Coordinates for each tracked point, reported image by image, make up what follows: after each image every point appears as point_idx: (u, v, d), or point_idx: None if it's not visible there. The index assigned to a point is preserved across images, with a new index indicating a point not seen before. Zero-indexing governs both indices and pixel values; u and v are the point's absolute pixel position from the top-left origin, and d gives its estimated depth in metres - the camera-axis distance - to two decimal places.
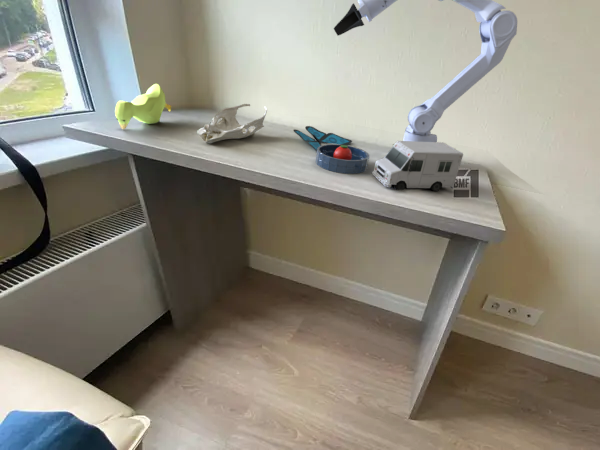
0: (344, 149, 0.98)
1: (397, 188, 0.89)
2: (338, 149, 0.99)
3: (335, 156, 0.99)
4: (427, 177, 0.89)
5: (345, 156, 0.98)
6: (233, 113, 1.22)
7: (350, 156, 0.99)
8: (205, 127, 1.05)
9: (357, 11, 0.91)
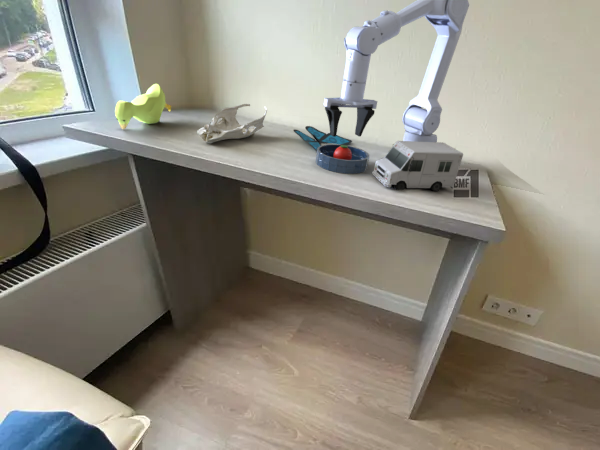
0: (344, 149, 0.98)
1: (397, 188, 0.89)
2: (338, 149, 0.99)
3: (335, 156, 0.99)
4: (427, 177, 0.89)
5: (345, 156, 0.98)
6: (233, 113, 1.22)
7: (350, 156, 0.99)
8: (205, 127, 1.05)
9: None
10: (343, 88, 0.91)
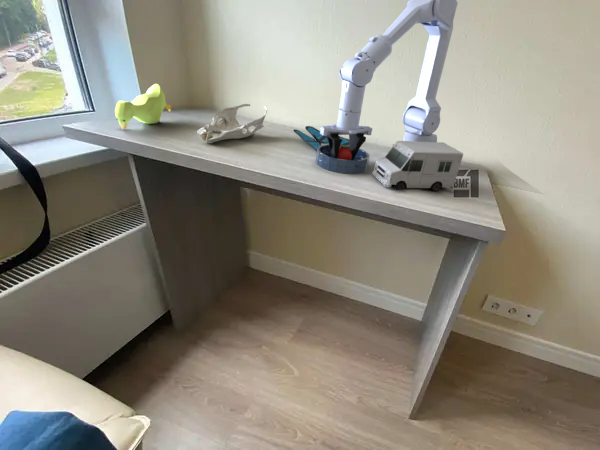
0: (344, 149, 0.98)
1: (397, 188, 0.89)
2: None
3: None
4: (427, 177, 0.89)
5: (345, 156, 0.98)
6: (233, 113, 1.22)
7: (350, 156, 0.99)
8: (205, 127, 1.05)
9: None
10: (339, 117, 0.94)
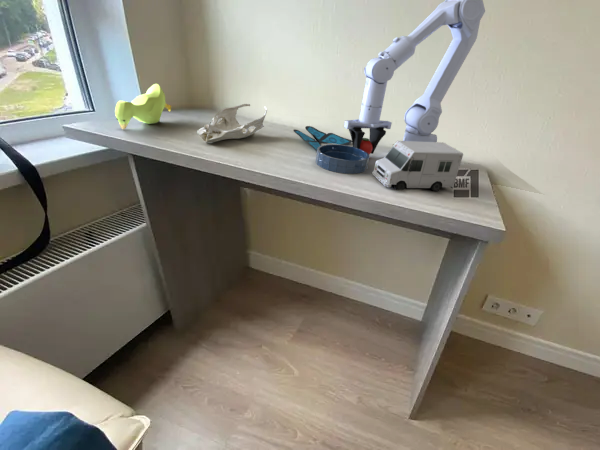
0: (366, 142, 1.06)
1: (397, 188, 0.89)
2: None
3: None
4: (427, 177, 0.89)
5: (367, 148, 1.05)
6: (233, 113, 1.22)
7: (371, 148, 1.06)
8: (205, 127, 1.05)
9: None
10: (362, 112, 1.02)
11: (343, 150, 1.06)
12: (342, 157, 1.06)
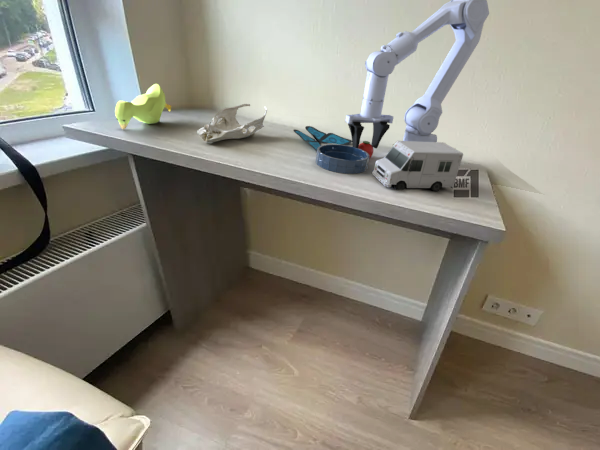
0: (366, 145, 1.06)
1: (397, 188, 0.89)
2: (361, 145, 1.07)
3: None
4: (427, 177, 0.89)
5: (368, 151, 1.06)
6: (233, 113, 1.22)
7: (372, 151, 1.07)
8: (205, 127, 1.05)
9: None
10: (363, 106, 1.01)
11: (343, 150, 1.06)
12: (342, 157, 1.06)
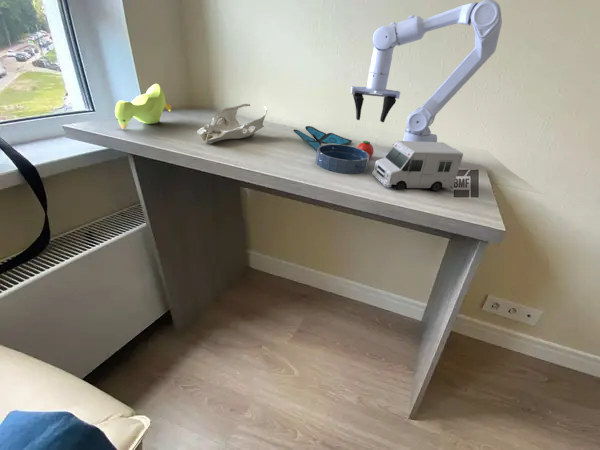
0: (367, 145, 1.06)
1: (397, 188, 0.89)
2: (361, 145, 1.07)
3: None
4: (427, 177, 0.89)
5: (368, 151, 1.06)
6: (233, 113, 1.22)
7: (372, 151, 1.07)
8: (205, 127, 1.05)
9: None
10: (368, 79, 1.08)
11: (343, 150, 1.06)
12: (342, 157, 1.06)
